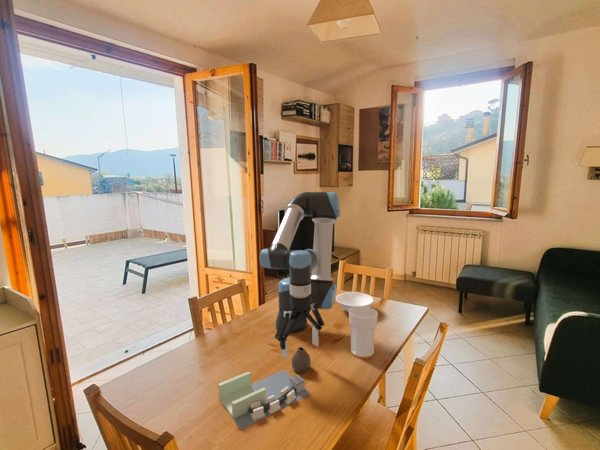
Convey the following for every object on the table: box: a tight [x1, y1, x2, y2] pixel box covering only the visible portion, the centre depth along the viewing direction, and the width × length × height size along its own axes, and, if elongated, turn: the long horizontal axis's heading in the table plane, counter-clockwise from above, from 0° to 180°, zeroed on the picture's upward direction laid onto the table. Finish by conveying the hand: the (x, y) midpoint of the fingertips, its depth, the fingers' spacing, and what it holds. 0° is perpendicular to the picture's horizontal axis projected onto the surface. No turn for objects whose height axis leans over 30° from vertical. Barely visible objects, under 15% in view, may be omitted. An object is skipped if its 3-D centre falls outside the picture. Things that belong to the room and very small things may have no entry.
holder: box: [218, 371, 266, 421], centre depth 100 cm, size 11×11×5 cm
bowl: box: [335, 291, 374, 313], centre depth 168 cm, size 20×20×7 cm
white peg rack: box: [250, 373, 306, 420], centre depth 100 cm, size 7×20×3 cm, turn 126°
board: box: [218, 369, 312, 431], centre depth 103 cm, size 16×25×1 cm, turn 126°
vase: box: [291, 346, 311, 374], centre depth 117 cm, size 7×7×9 cm
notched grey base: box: [249, 386, 296, 413], centre depth 100 cm, size 4×19×1 cm, turn 126°
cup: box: [348, 306, 379, 360], centre depth 128 cm, size 11×11×17 cm
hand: (300, 350), depth 116 cm, fingers open, 13 cm apart
